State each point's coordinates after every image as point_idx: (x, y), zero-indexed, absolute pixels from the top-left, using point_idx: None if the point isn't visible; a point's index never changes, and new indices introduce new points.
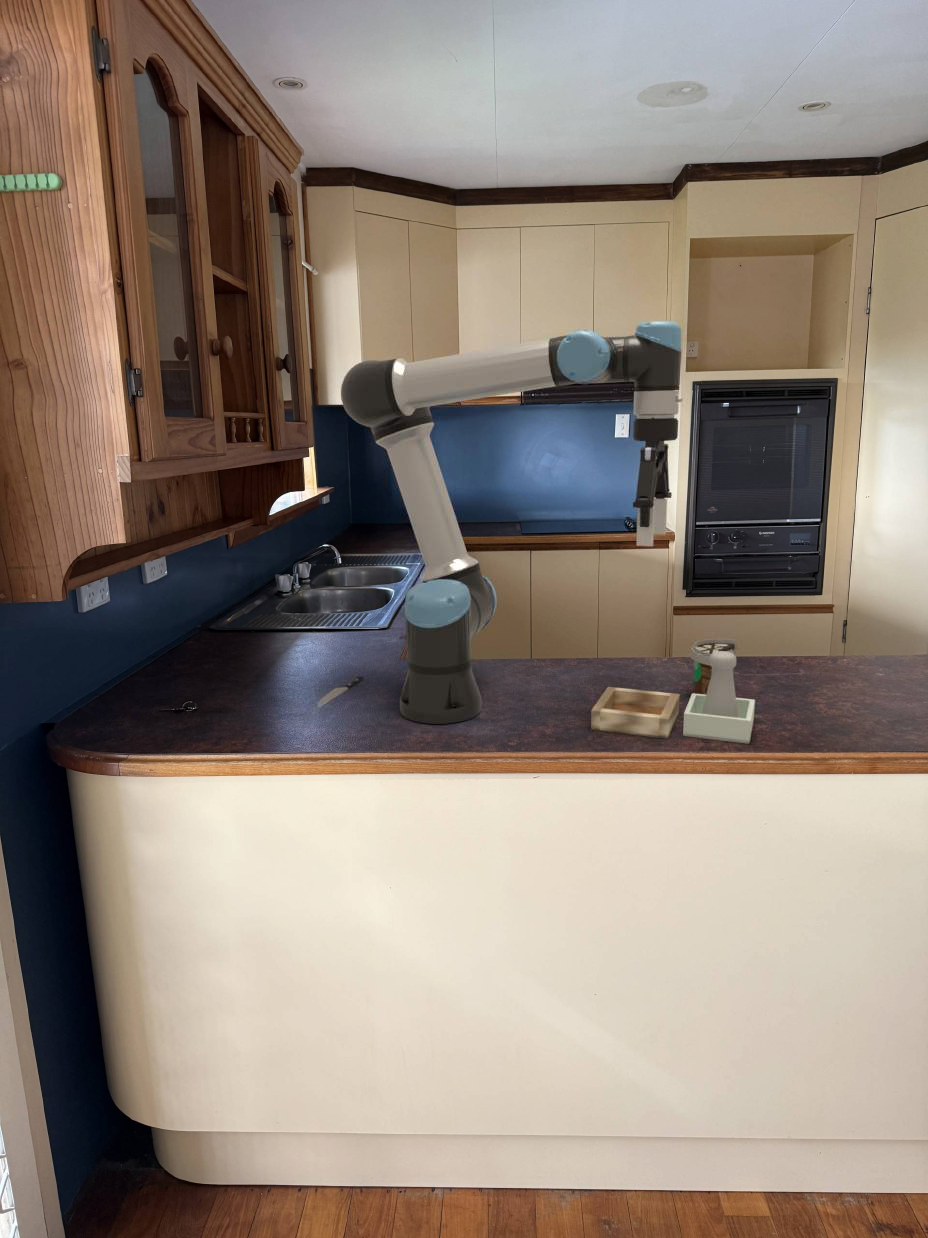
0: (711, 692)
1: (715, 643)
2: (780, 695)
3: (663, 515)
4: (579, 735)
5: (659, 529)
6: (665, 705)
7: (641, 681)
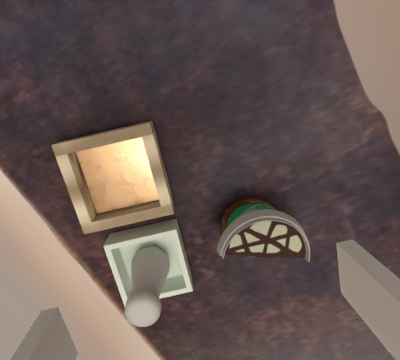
0: (133, 275)
1: (299, 234)
2: (286, 274)
3: (390, 345)
4: (36, 137)
5: (349, 285)
6: (125, 214)
7: (262, 120)
